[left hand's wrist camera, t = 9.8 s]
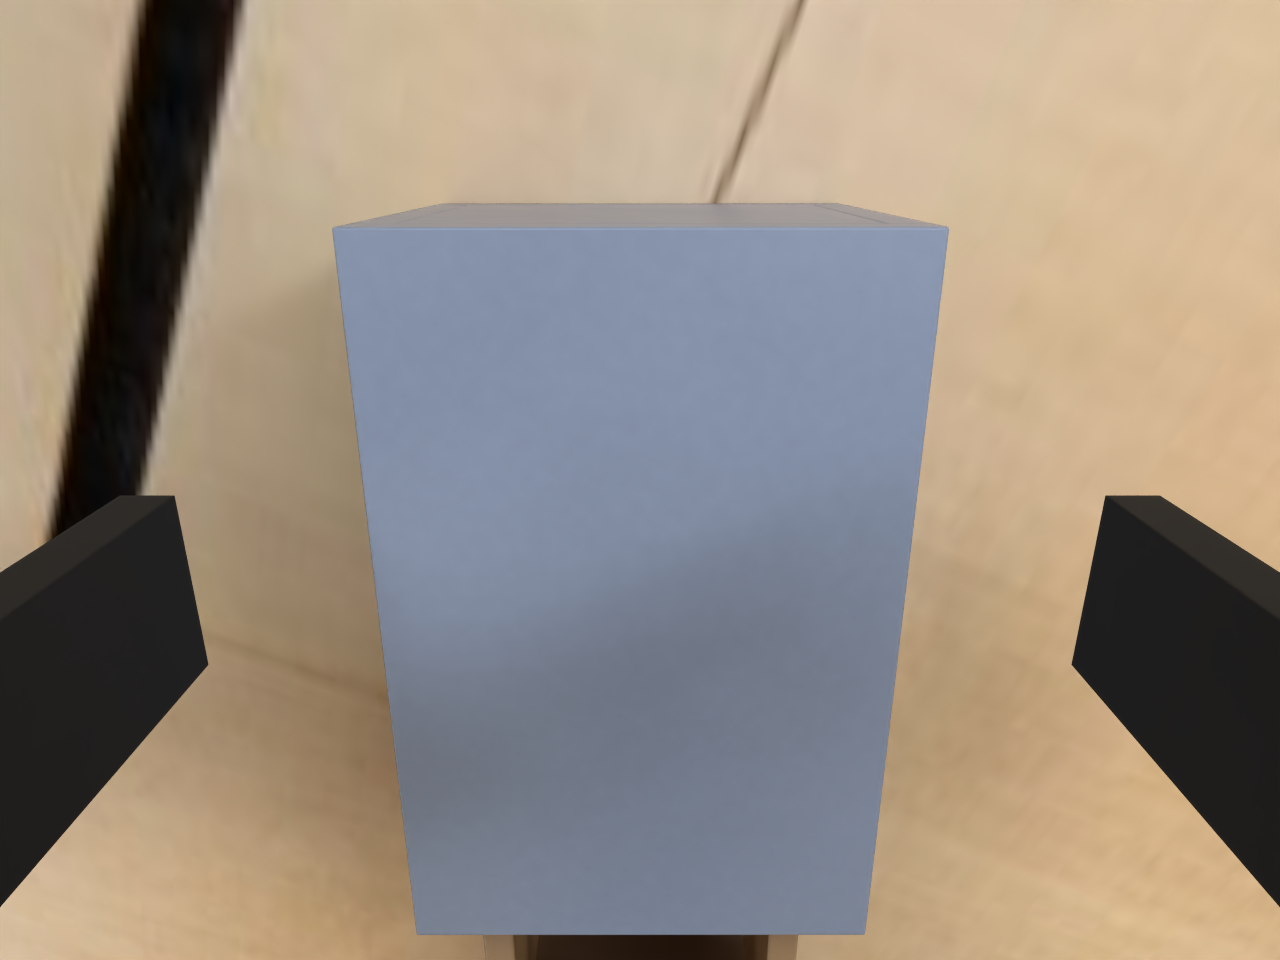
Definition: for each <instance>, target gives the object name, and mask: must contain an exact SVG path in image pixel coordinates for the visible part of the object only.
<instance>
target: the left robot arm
mask: <svg viewBox="0 0 1280 960" xmlns="http://www.w3.org/2000/svg"><path fill="white" fill-rule="evenodd" d="M207 666H208V660H207V655H206V650H205V645H204V640H203V635H202V630H201V625H200V620H199V616H198V611H197V606H196V601H195V596H194V591H193V586H192V581H191V576H190V571H189V566H188V561H187V556H186V551H185V546H184V541H183V536H182V531H181V526H180V521H179V516H178V511H177V506H176V501H175V496H119V497H117V498H116V499H114V500H113V501H111V502H109V503H108V504H106V505H105V506H103V507H102V508H100V509H99V510H97V511H95V512H94V513H92V514H91V515H89V516H88V517H86V518H85V519H83V520H81V521H80V522H78V523H77V524H75V525H74V526H72V527H70V528H69V529H67V530H66V531H64V532H63V533H61V534H60V535H58V536H56V537H55V538H53V539H52V540H50V541H49V542H47V543H46V544H44V545H42V546H41V547H39V548H38V549H36V550H35V551H33V552H32V553H30V554H28V555H27V556H25V557H24V558H22V559H21V560H19V561H17V562H16V563H14V564H13V565H11V566H10V567H8V568H7V569H5V570H3V571H2V572H0V907H1V905H2V904H3V903H4V902H5V901H6V900H7V898H8V897H9V896H10V895H11V894H12V893H13V892H14V890H15V889H16V888H17V887H18V886H19V885H20V883H21V882H22V881H23V880H24V879H25V878H26V876H27V875H28V874H29V873H30V872H31V871H32V869H33V868H34V867H35V866H36V865H37V864H38V862H39V861H40V860H41V859H42V858H43V857H44V855H45V854H46V853H47V852H48V851H49V850H50V848H51V847H52V846H53V845H54V844H55V843H56V841H57V840H58V839H59V838H60V837H61V836H62V834H63V833H64V832H65V831H66V830H67V829H68V827H69V826H70V825H71V824H72V823H73V822H74V820H75V819H76V818H77V817H78V816H79V815H80V814H81V812H82V811H83V810H84V809H85V808H86V807H87V805H88V804H89V803H90V802H91V801H92V800H93V798H94V797H95V796H96V795H97V794H98V793H99V791H100V790H101V789H102V788H103V787H104V786H105V784H106V783H107V782H108V781H109V780H110V779H111V777H112V776H113V775H114V774H115V773H116V772H117V770H118V769H119V768H120V767H121V766H122V765H123V763H124V762H125V761H126V760H127V759H128V758H129V756H130V755H131V754H132V753H133V752H134V751H135V749H136V748H137V747H138V746H139V745H140V744H141V742H142V741H143V740H144V739H145V738H146V737H147V735H148V734H149V733H150V732H151V731H152V730H153V729H154V727H155V726H156V725H157V724H158V723H159V722H160V720H161V719H162V718H163V717H164V716H165V715H166V713H167V712H168V711H169V710H170V709H171V708H172V706H173V705H174V704H175V703H176V702H177V701H178V699H179V698H180V697H181V696H182V695H183V694H184V692H185V691H186V690H187V689H188V688H189V687H190V685H191V684H192V683H193V682H194V681H195V680H196V678H197V677H198V676H199V675H200V674H201V673H202V671H203V670H204V669H205V668H206V667H207ZM1072 666H1073V667H1074V668H1075V669H1076V670H1077V671H1078V673H1079V674H1080V675H1081V676H1082V677H1083V678H1084V680H1085V681H1086V682H1087V683H1088V684H1089V685H1090V687H1091V688H1092V689H1093V690H1094V691H1095V692H1096V694H1097V695H1098V696H1099V697H1100V698H1101V699H1102V701H1103V702H1104V703H1105V704H1106V705H1107V706H1108V708H1109V709H1110V710H1111V711H1112V712H1113V713H1114V715H1115V716H1116V717H1117V718H1118V719H1119V720H1120V722H1121V723H1122V724H1123V725H1124V726H1125V727H1126V729H1127V730H1128V731H1129V732H1130V733H1131V734H1132V735H1133V737H1134V738H1135V739H1136V740H1137V741H1138V742H1139V744H1140V745H1141V746H1142V747H1143V748H1144V749H1145V751H1146V752H1147V753H1148V754H1149V755H1150V756H1151V758H1152V759H1153V760H1154V761H1155V762H1156V763H1157V765H1158V766H1159V767H1160V768H1161V769H1162V770H1163V772H1164V773H1165V774H1166V775H1167V776H1168V777H1169V779H1170V780H1171V781H1172V782H1173V783H1174V784H1175V786H1176V787H1177V788H1178V789H1179V790H1180V791H1181V793H1182V794H1183V795H1184V796H1185V797H1186V798H1187V800H1188V801H1189V802H1190V803H1191V804H1192V805H1193V807H1194V808H1195V809H1196V810H1197V811H1198V812H1199V814H1200V815H1201V816H1202V817H1203V818H1204V819H1205V820H1206V822H1207V823H1208V824H1209V825H1210V826H1211V827H1212V829H1213V830H1214V831H1215V832H1216V833H1217V834H1218V836H1219V837H1220V838H1221V839H1222V840H1223V841H1224V843H1225V844H1226V845H1227V846H1228V847H1229V848H1230V850H1231V851H1232V852H1233V853H1234V854H1235V855H1236V857H1237V858H1238V859H1239V860H1240V861H1241V862H1242V864H1243V865H1244V866H1245V867H1246V868H1247V869H1248V871H1249V872H1250V873H1251V874H1252V875H1253V876H1254V878H1255V879H1256V880H1257V881H1258V882H1259V883H1260V885H1261V886H1262V887H1263V888H1264V889H1265V890H1266V892H1267V893H1268V894H1269V895H1270V896H1271V897H1272V898H1273V900H1274V901H1275V902H1276V903H1277V904H1278V905H1279V907H1280V572H1278V571H1277V570H1275V569H1273V568H1272V567H1270V566H1269V565H1267V564H1266V563H1264V562H1263V561H1261V560H1259V559H1258V558H1256V557H1255V556H1253V555H1252V554H1250V553H1248V552H1247V551H1245V550H1244V549H1242V548H1241V547H1239V546H1238V545H1236V544H1234V543H1233V542H1231V541H1230V540H1228V539H1227V538H1225V537H1224V536H1222V535H1220V534H1219V533H1217V532H1216V531H1214V530H1213V529H1211V528H1210V527H1208V526H1206V525H1205V524H1203V523H1202V522H1200V521H1199V520H1197V519H1195V518H1194V517H1192V516H1191V515H1189V514H1188V513H1186V512H1185V511H1183V510H1181V509H1180V508H1178V507H1177V506H1175V505H1174V504H1172V503H1171V502H1169V501H1167V500H1166V499H1164V498H1163V497H1161V496H1105V501H1104V506H1103V511H1102V516H1101V521H1100V526H1099V531H1098V536H1097V541H1096V546H1095V551H1094V556H1093V561H1092V566H1091V571H1090V576H1089V581H1088V586H1087V591H1086V596H1085V601H1084V606H1083V611H1082V616H1081V620H1080V625H1079V630H1078V635H1077V640H1076V645H1075V650H1074V655H1073V660H1072Z"/></svg>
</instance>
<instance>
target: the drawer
mask: <svg viewBox="0 0 1280 960" xmlns="http://www.w3.org/2000/svg"><path fill="white" fill-rule="evenodd" d="M797 941H798V935H484V946H485V958H486V960H796V952H797Z"/></svg>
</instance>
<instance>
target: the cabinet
mask: <svg viewBox="0 0 1280 960" xmlns="http://www.w3.org/2000/svg"><path fill="white" fill-rule="evenodd" d="M332 231H333V239H334V248H335V256H336V264H337V273H338V281H339V289H340V298H341V306H342V314H343V323H344V331H345V339H346V348H347V356H348V364H349V373H350V381H351V389H352V398H353V406H354V414H355V423H356V431H357V439H358V448H359V456H360V464H361V473H362V481H363V489H364V498H365V506H366V514H367V523H368V531H369V539H370V548H371V556H372V564H373V573H374V581H375V589H376V598H377V606H378V615H379V623H380V631H381V640H382V648H383V656H384V665H385V673H386V681H387V690H388V698H389V706H390V715H391V723H392V731H393V740H394V748H395V756H396V765H397V773H398V781H399V790H400V798H401V806H402V815H403V823H404V831H405V840H406V848H407V856H408V865H409V873H410V881H411V890H412V898H413V906H414V915H415V923H416V931H417V934H418V935H863V934H865V928H866V919H867V911H868V903H869V894H870V886H871V878H872V869H873V861H874V852H875V844H876V836H877V827H878V819H879V811H880V802H881V794H882V785H883V777H884V769H885V760H886V752H887V744H888V735H889V727H890V718H891V710H892V702H893V693H894V685H895V677H896V668H897V660H898V651H899V643H900V635H901V626H902V618H903V609H904V601H905V593H906V584H907V576H908V568H909V559H910V551H911V542H912V534H913V526H914V517H915V509H916V501H917V492H918V484H919V475H920V467H921V459H922V450H923V442H924V434H925V425H926V417H927V408H928V400H929V392H930V383H931V375H932V367H933V358H934V350H935V341H936V333H937V325H938V316H939V308H940V300H941V291H942V283H943V274H944V266H945V258H946V249H947V241H948V233H949V228H948V227H946V226H941V225H936V224H931V223H927V222H922V221H918V220H913V219H908V218H904V217H899V216H894V215H890V214H885V213H880V212H876V211H871V210H866V209H862V208H857V207H853V206H848V205H842V204H838V203H793V204H439V205H434V206H429V207H424V208H420V209H415V210H411V211H406V212H401V213H397V214H392V215H388V216H383V217H378V218H374V219H369V220H365V221H360V222H355V223H351V224H346V225H342V226H337V227H334V228H333V230H332Z"/></svg>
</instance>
